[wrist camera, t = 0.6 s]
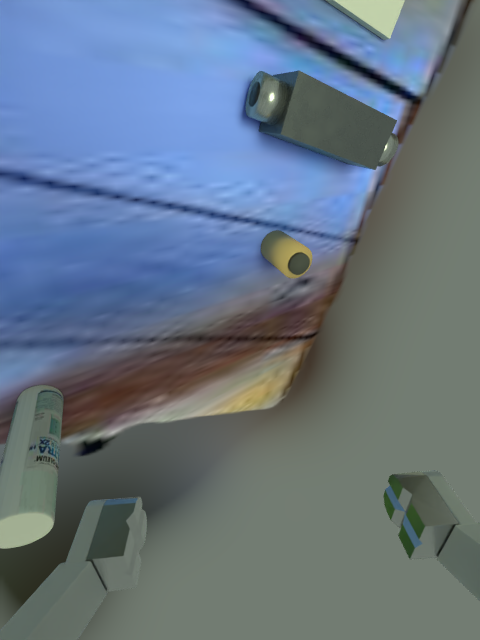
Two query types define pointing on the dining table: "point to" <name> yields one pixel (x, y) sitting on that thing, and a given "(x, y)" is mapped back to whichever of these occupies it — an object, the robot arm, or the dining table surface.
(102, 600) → the robot arm
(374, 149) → the motor housing
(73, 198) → the dining table surface
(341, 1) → the far side pad
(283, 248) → the yellow cylinder
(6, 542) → the spray can
